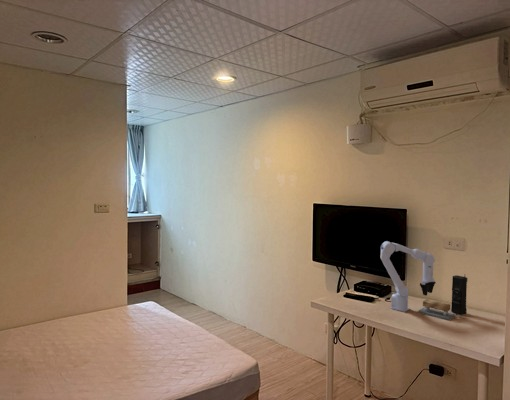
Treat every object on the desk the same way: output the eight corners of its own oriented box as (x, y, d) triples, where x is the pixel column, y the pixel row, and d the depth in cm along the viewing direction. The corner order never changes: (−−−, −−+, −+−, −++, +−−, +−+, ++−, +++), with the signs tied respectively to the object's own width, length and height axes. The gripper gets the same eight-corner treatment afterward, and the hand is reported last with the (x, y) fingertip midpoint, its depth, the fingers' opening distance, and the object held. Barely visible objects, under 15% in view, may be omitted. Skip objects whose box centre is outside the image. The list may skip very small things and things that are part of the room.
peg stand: (417, 312, 230) (418, 306, 229) (424, 309, 236) (424, 302, 236) (449, 320, 217) (449, 313, 216) (455, 316, 223) (455, 309, 223)
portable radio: (448, 311, 232) (449, 271, 231) (455, 310, 235) (456, 270, 233) (460, 315, 225) (461, 274, 224) (467, 313, 228) (468, 273, 226)
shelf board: (422, 306, 229) (423, 301, 229) (426, 304, 233) (426, 299, 233) (447, 311, 219) (447, 306, 219) (450, 309, 223) (450, 304, 223)
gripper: (429, 275, 225) (429, 297, 226) (439, 271, 235) (438, 292, 236) (418, 273, 230) (417, 295, 231) (427, 269, 240) (427, 290, 241)
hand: (427, 293), depth 234 cm, fingers open, 7 cm apart
